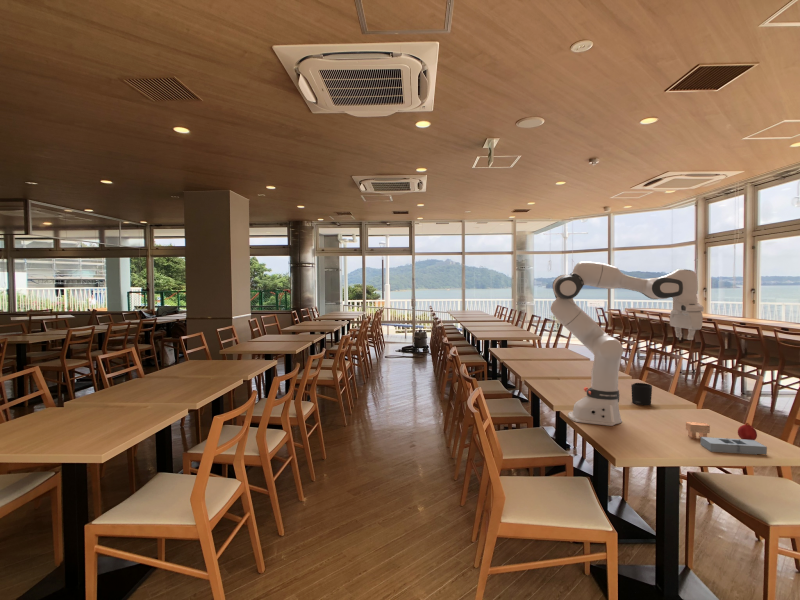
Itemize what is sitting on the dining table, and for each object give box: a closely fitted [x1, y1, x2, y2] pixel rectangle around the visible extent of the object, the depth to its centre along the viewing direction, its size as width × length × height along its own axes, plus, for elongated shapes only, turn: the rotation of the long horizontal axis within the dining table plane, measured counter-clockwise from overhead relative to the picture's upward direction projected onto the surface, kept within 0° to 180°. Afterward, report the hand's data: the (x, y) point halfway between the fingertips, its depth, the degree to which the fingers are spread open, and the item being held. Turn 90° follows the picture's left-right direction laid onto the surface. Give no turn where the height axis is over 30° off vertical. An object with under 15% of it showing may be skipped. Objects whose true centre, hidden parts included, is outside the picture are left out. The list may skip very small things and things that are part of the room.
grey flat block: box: [700, 436, 768, 455], centre depth 153 cm, size 18×7×3 cm, turn 79°
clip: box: [685, 421, 711, 439], centre depth 166 cm, size 7×4×6 cm, turn 79°
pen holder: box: [631, 382, 653, 406], centre depth 217 cm, size 9×9×10 cm
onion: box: [737, 422, 758, 441], centre depth 160 cm, size 6×6×8 cm
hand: (684, 338), depth 178 cm, fingers open, 8 cm apart
